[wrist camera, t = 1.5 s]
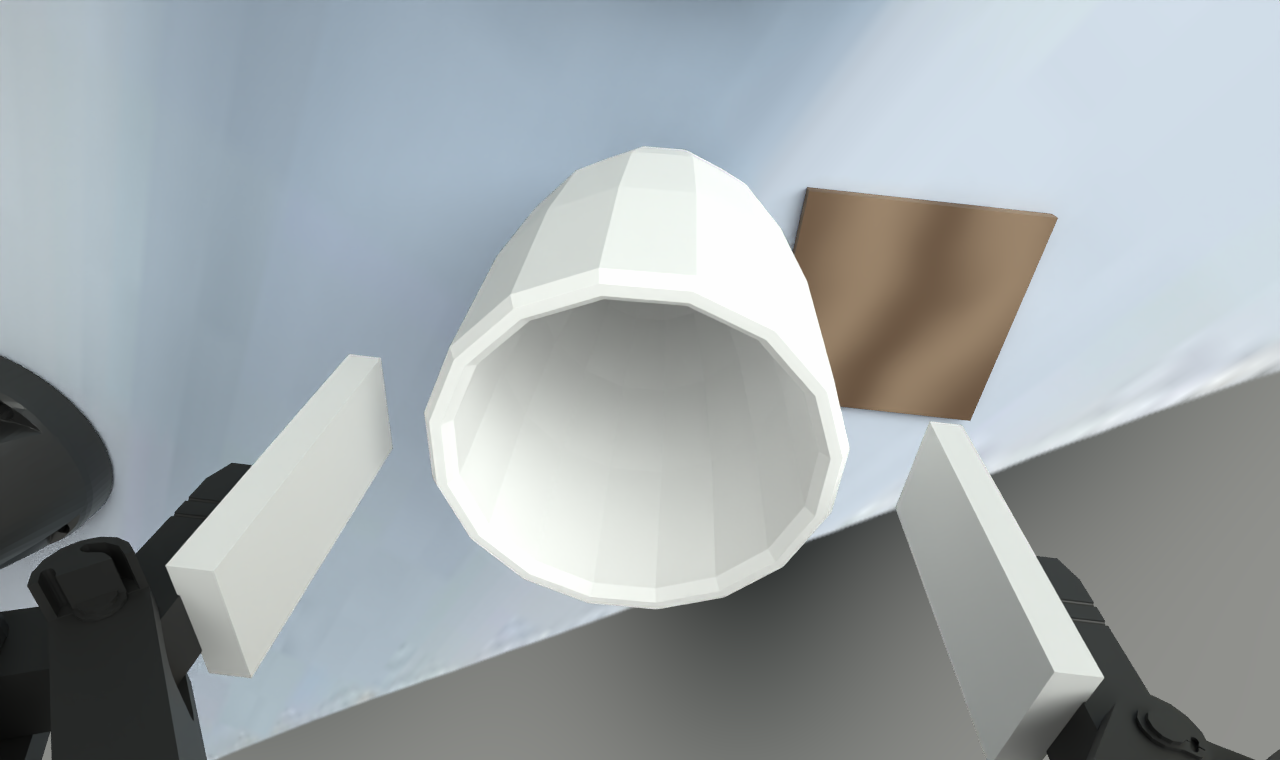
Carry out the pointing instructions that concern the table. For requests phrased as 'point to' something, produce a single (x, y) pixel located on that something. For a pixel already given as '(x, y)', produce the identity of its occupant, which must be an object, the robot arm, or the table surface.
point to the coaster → (915, 294)
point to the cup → (641, 391)
